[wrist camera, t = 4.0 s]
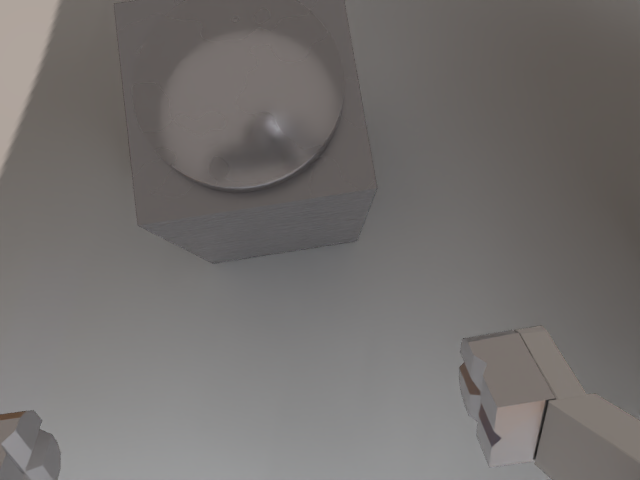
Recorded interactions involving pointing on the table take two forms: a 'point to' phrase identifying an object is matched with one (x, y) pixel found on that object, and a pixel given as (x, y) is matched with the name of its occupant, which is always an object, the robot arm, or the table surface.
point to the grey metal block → (244, 124)
